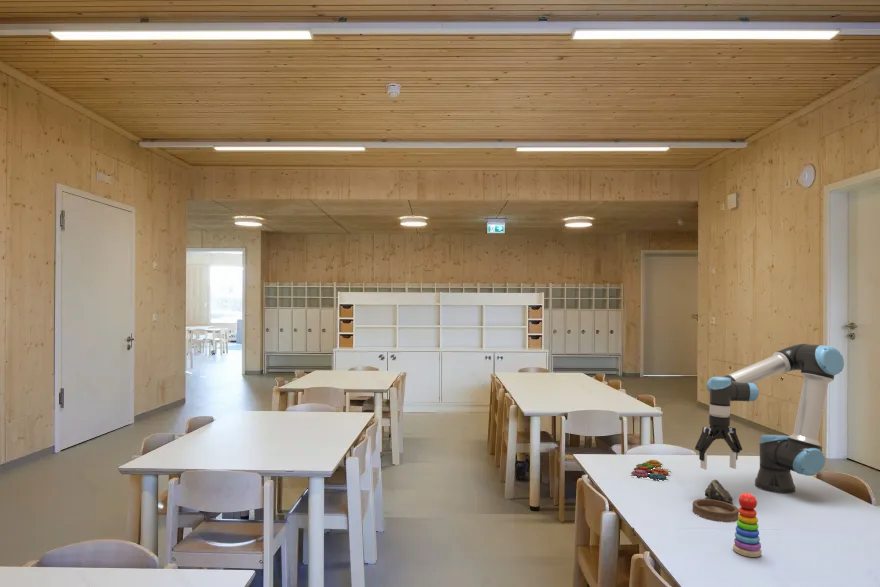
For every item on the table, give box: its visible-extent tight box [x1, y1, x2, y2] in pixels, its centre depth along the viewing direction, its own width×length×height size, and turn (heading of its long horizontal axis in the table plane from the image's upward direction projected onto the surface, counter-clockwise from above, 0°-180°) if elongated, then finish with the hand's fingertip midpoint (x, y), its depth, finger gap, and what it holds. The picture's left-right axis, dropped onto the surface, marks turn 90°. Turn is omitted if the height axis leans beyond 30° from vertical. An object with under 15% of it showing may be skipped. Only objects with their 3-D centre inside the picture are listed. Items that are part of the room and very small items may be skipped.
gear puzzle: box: [630, 459, 671, 481], centre depth 267 cm, size 31×16×4 cm, turn 152°
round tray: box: [692, 498, 740, 523], centre depth 211 cm, size 15×15×3 cm
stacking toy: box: [732, 492, 762, 558], centre depth 178 cm, size 8×8×19 cm
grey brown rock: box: [704, 479, 734, 505], centre depth 226 cm, size 11×9×10 cm
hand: (718, 468), depth 226 cm, fingers open, 13 cm apart
